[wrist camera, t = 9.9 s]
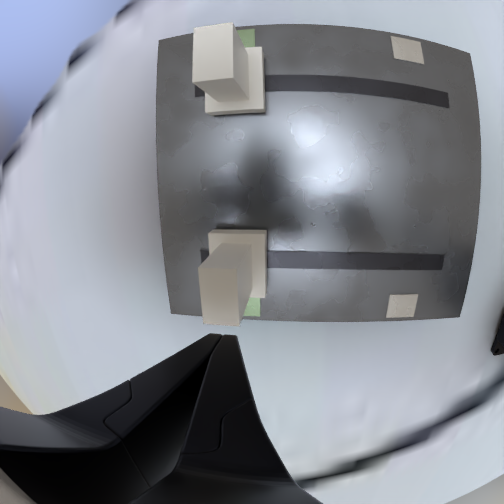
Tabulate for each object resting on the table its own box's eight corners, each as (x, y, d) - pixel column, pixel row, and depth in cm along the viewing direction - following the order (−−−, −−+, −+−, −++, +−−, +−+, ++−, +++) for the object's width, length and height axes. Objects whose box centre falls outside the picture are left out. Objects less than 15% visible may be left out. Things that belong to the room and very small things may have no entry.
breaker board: (456, 61, 13) (470, 53, 11) (448, 304, 18) (460, 317, 16) (170, 50, 16) (158, 39, 14) (181, 301, 21) (170, 314, 19)
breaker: (263, 53, 13) (250, 11, 8) (265, 112, 14) (252, 88, 10) (210, 58, 14) (178, 21, 9) (210, 115, 15) (175, 96, 10)
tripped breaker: (266, 229, 16) (254, 257, 11) (267, 290, 17) (255, 337, 12) (213, 229, 16) (181, 255, 12) (216, 288, 17) (189, 332, 13)
